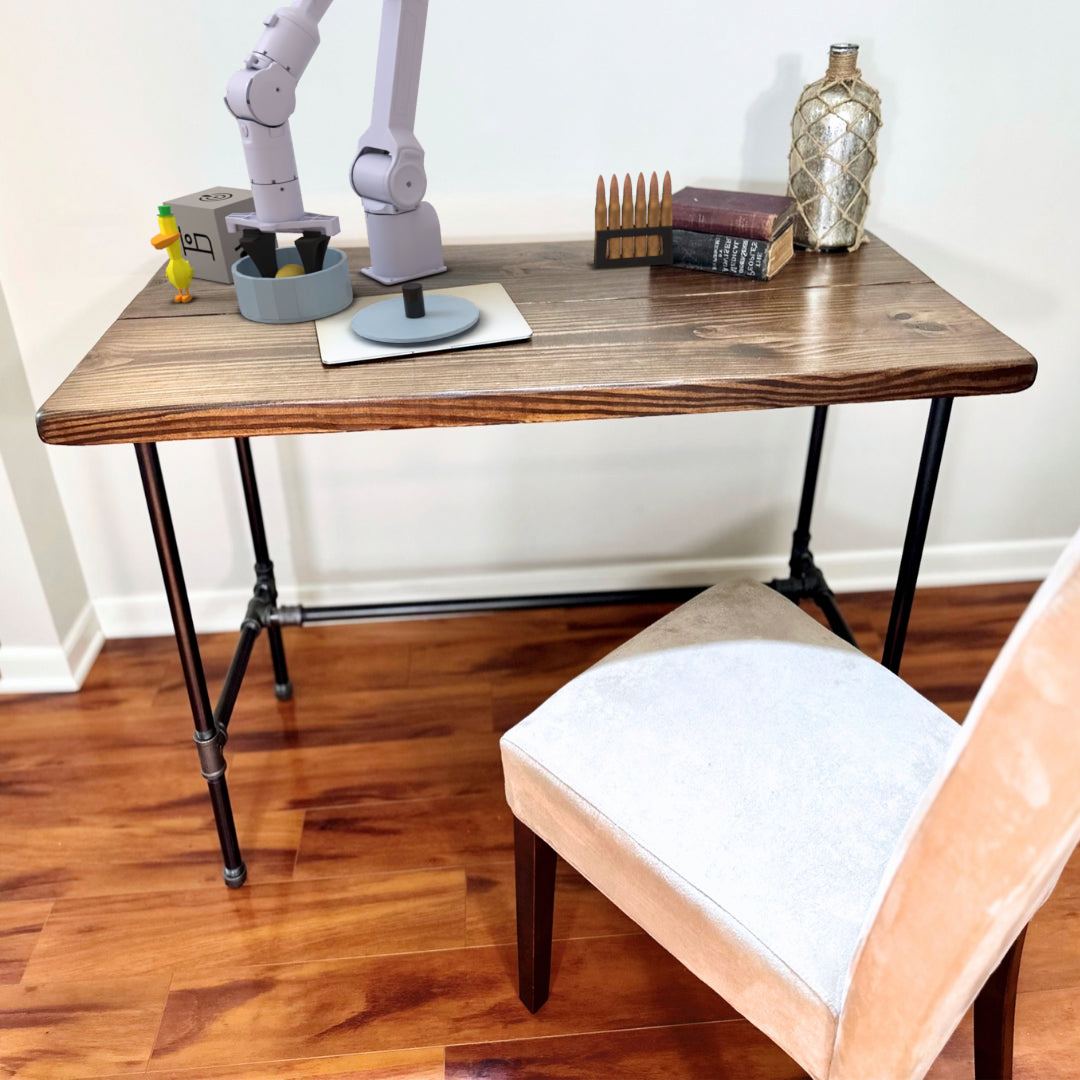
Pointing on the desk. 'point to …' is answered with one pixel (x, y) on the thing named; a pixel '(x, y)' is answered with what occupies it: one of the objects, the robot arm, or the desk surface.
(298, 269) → the ball
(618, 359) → the desk surface
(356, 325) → the lid
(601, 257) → the ammunition clip
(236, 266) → the pot
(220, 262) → the icon cube
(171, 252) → the toy figure
